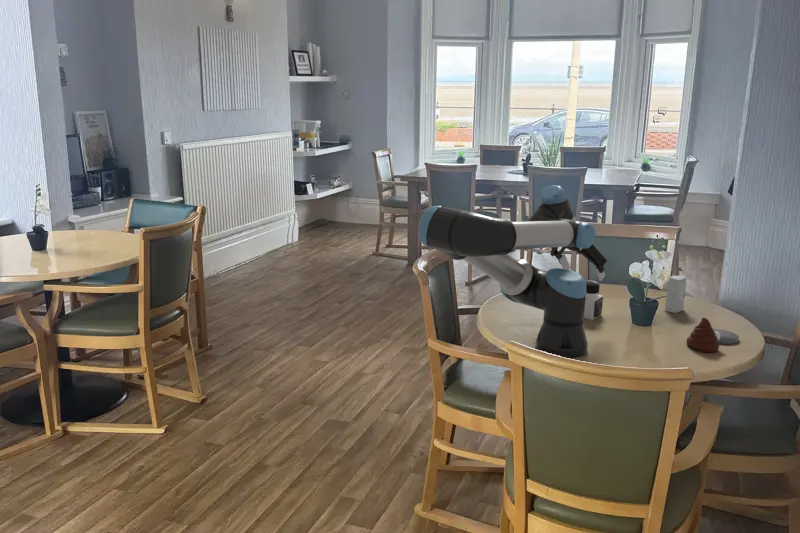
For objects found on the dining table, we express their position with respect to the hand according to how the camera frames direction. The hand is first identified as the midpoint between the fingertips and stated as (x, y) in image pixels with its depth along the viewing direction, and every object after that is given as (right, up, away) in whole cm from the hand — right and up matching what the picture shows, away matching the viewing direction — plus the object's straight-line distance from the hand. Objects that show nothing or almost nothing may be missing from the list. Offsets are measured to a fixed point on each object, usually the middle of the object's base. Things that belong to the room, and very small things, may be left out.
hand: (584, 274), depth 233 cm
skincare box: (+35, -13, +13) cm, 40 cm away
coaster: (+39, -20, -14) cm, 46 cm away
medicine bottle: (+3, -15, +6) cm, 16 cm away
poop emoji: (+30, -22, -22) cm, 43 cm away
